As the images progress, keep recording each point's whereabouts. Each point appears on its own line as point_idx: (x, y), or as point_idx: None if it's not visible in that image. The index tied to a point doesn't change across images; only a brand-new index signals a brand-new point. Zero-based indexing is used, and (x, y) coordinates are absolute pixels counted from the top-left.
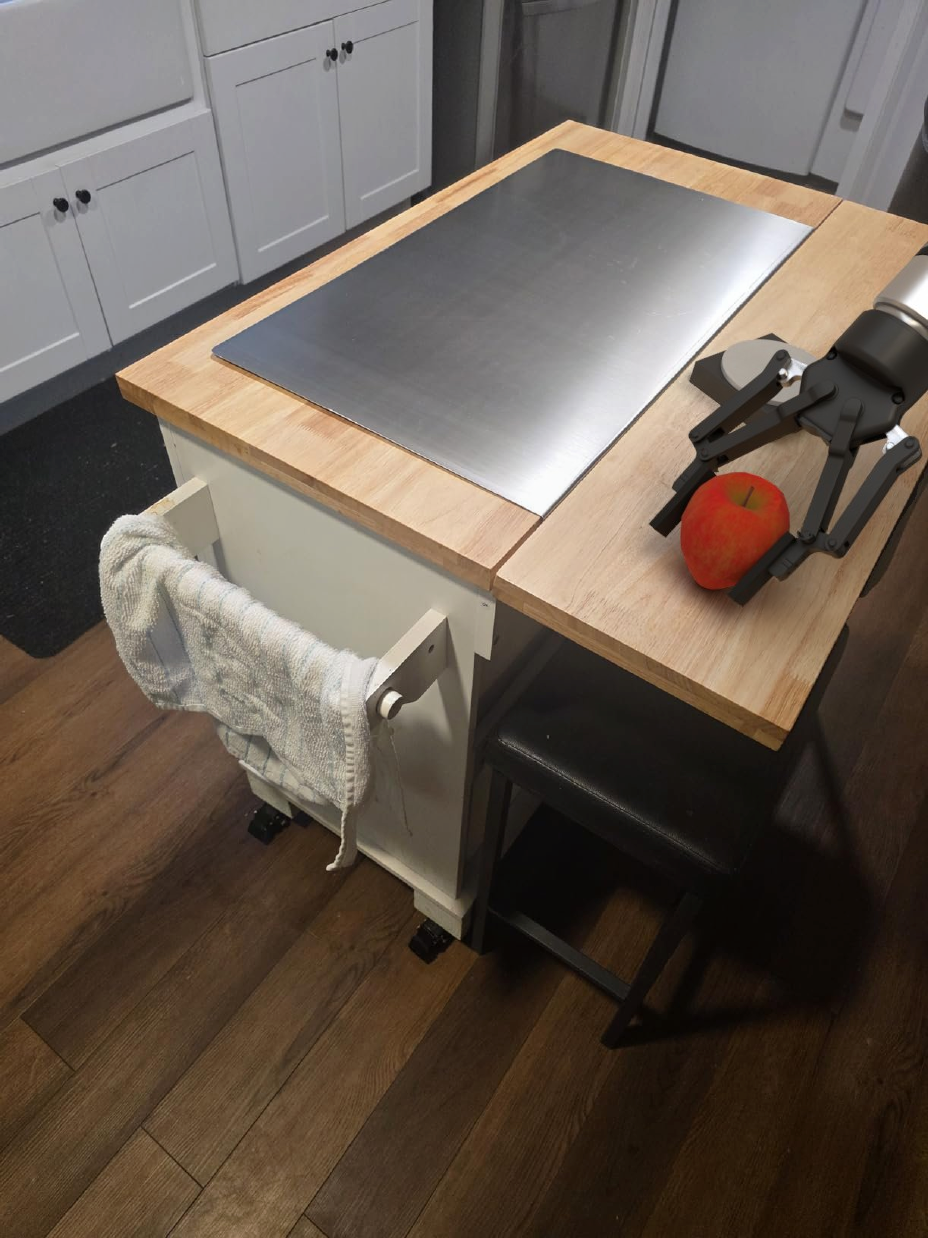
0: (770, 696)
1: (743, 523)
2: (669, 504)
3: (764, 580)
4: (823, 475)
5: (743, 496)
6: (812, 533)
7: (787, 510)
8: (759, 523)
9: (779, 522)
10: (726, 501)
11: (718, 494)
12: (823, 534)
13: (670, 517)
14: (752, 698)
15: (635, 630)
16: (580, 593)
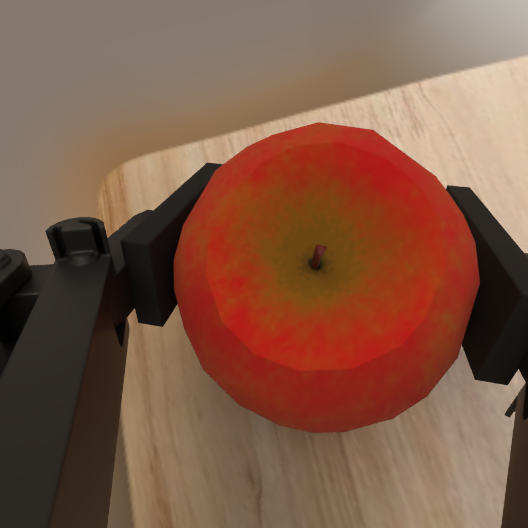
0: (124, 192)
1: (252, 148)
2: (483, 214)
3: None
4: (51, 442)
5: (342, 284)
6: (68, 264)
7: (200, 336)
8: (218, 186)
9: (184, 256)
10: (343, 152)
11: (385, 158)
12: (40, 289)
13: None
14: (139, 170)
15: None
16: (429, 116)
